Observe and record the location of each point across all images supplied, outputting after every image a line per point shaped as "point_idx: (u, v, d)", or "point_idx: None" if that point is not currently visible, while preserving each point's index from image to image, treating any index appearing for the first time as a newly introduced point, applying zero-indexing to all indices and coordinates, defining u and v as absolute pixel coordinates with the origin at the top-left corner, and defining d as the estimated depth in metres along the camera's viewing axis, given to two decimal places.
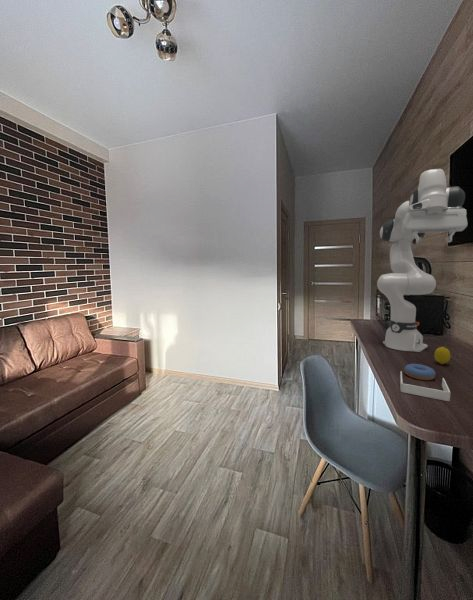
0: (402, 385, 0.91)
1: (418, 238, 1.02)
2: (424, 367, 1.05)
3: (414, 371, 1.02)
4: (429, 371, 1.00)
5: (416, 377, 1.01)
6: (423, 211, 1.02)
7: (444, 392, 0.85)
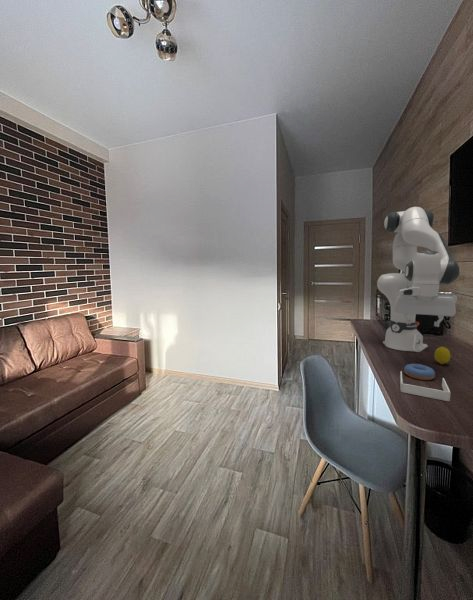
0: (402, 385, 0.91)
1: (407, 321, 1.11)
2: (424, 367, 1.05)
3: (414, 371, 1.02)
4: (429, 371, 1.00)
5: (416, 377, 1.01)
6: (413, 297, 1.07)
7: (444, 392, 0.85)
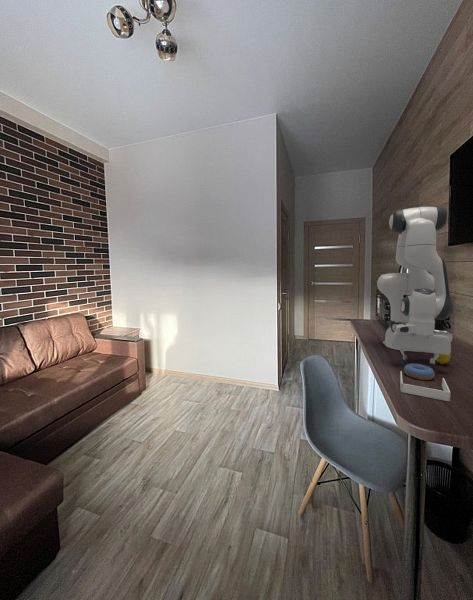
0: (402, 385, 0.91)
1: (404, 356, 1.13)
2: (423, 367, 1.05)
3: (413, 371, 1.02)
4: (428, 371, 1.01)
5: (415, 377, 1.01)
6: (409, 334, 1.10)
7: (444, 392, 0.85)
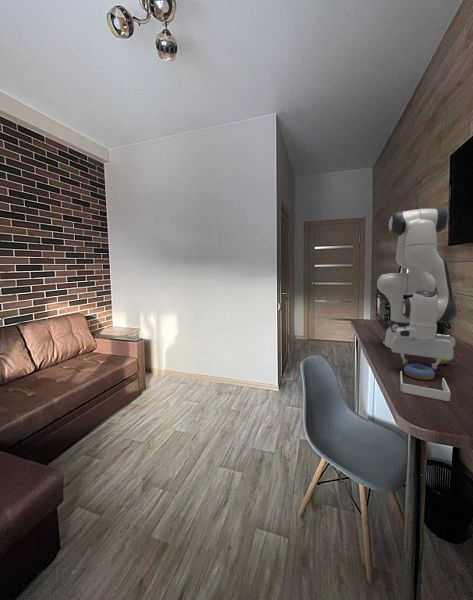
0: (402, 385, 0.91)
1: (404, 361, 1.09)
2: (423, 367, 1.05)
3: (414, 371, 1.02)
4: (429, 371, 1.00)
5: (416, 377, 1.01)
6: (410, 339, 1.05)
7: (444, 392, 0.85)
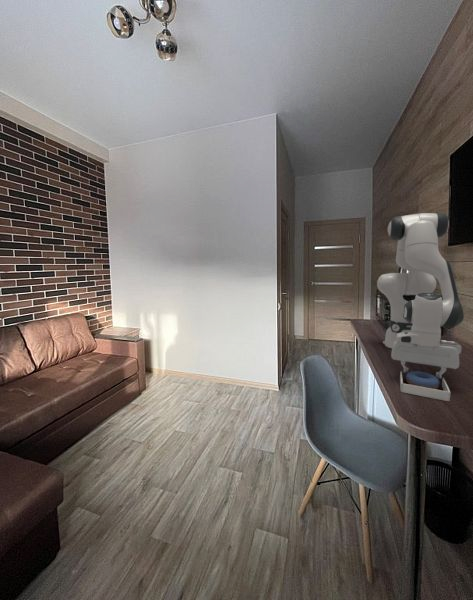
0: (402, 385, 0.91)
1: (405, 369, 1.00)
2: (426, 375, 0.97)
3: (418, 380, 0.93)
4: (433, 380, 0.92)
5: None
6: (412, 345, 0.96)
7: (444, 392, 0.85)
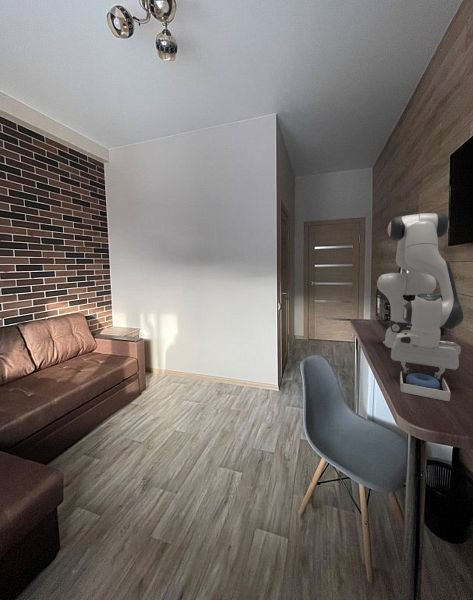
0: (402, 385, 0.91)
1: (405, 370, 1.00)
2: (427, 377, 0.95)
3: (418, 382, 0.92)
4: (434, 382, 0.91)
5: None
6: (411, 346, 0.97)
7: (444, 392, 0.85)
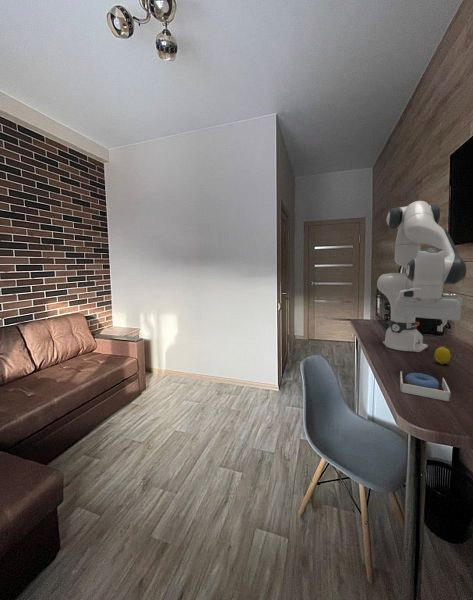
0: (402, 385, 0.91)
1: (408, 325, 1.02)
2: (426, 376, 0.96)
3: (417, 382, 0.92)
4: (433, 381, 0.91)
5: None
6: (414, 299, 0.98)
7: (444, 392, 0.85)
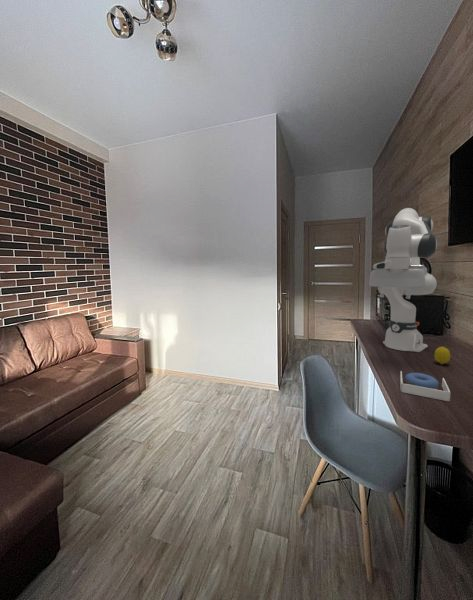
0: (402, 385, 0.91)
1: (381, 294, 1.15)
2: (425, 376, 0.96)
3: (417, 382, 0.92)
4: (432, 381, 0.91)
5: None
6: (386, 271, 1.11)
7: (444, 392, 0.85)
